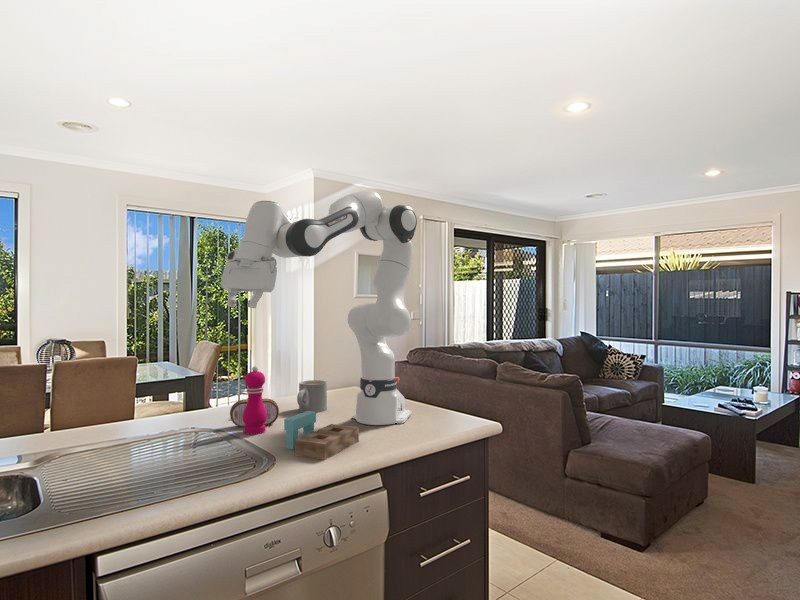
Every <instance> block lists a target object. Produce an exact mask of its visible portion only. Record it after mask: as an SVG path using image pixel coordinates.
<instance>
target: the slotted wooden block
mask: <svg viewBox="0 0 800 600" xmlns="http://www.w3.org/2000/svg"><path fill="white" fill-rule="evenodd" d="M359 429H360V428H359V426H351V425H343V424H335V423H330V424H328V425H325V426H323V427H322V428H319V429H317V430H314V432H312V433H310V434H308V435H305V436H303V435H302V436H301V437H298V439H296V440H295V449H294V456H297V457H304V458H310V459H317V460H322V461H323V460H324V461H326V460H327V458H328V459H329V458H331V457H333V456H335V455H336V453H337V454H338V453H341V452H342V451H344V450H346V449H347V448H349V447H351V446H353V445H354V443H355V444H356V443H358V442H359V441H360V440H359V436H360V434H359V432H360V431H359ZM357 441H358V442H357ZM352 444H353V445H352ZM350 445H351V446H350ZM345 448H346V449H345ZM343 449H344V450H343Z"/></svg>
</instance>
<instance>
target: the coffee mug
mask: <svg viewBox="0 0 800 600" xmlns="http://www.w3.org/2000/svg"><path fill="white" fill-rule="evenodd" d="M327 382H328V381H325V380H321V379H318V380H316V379H313V380H310V379H309V380H308V379H307V380H303V381H299V383H298V393H297V397H296V401H297V405H298V410H299V412H301V413H303V412H306V411H313V412H316V414H317V413H323V412H325V411H327V409H328V407H327V406H328V405H327V404H328V403H327V402H328V399H327V397H328V394H327V393H328V392H327V391H328V388H327V386H328V383H327Z"/></svg>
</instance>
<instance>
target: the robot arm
mask: <svg viewBox="0 0 800 600" xmlns="http://www.w3.org/2000/svg"><path fill="white" fill-rule="evenodd" d="M246 217H247V218H246V219H245V220H246V221H245V223H244V227H243V228H244V229H243V232H244V233H243V237H242V239H240V242H239V246H237V247H236V248H235V249H233V250H232V251H230V252H228V253H227V254H226V256H225V257H226V258H225V261H227V262H226V263H225V264H224V267H223V268H224V269H223V272H222V276H221V279H220V286H221V289H223V290H227V299H228V300H227V303H226V304H227V306H228V307H232V308H235V307H236V306H237V303H238V301H237V300H236V295H238V292H248V293H249V292H252V294H253V295H252V296H251V298H250V299H249V300H248V302H247V305H246V306H247V307H248V308H250V309H256V308H257V305H258V302H259V301H260V300H261V298H262V297H263V295H264V294H263V293H272V292H273V290H274V288H275V286H276V280H277V273H278V270H277V269H278V267H277V264H278V262H277V260H276V258H275V257H274V256H273V254H274V255H276V256H277V257H281V258H284V259H285V258H287V259H288V258H289V259H290V258H298V257H314V256H315V255H318V254H319V253H320V252H321V251H322V250H323V249H324V248H325V246H326V244H327V243H329V242H330V241H331V240H332V239H334V238H336V237H338V236H339V235H342V234H346V233H350V232H354V231H357V230H360V233H361V235H362V236H363V237H364V238H365V239H366V240H368V241H371V242H372V241H373V242H378V241H382V244H383V245H382V246H383V247H382V251H381V254H380V257H379V260H378V263H377V266H376V270H375V272H374V273H375V274H374V275H373V279H372V286H373V288H374V289H375V291H376V294H377V298H376V299H377V300H376V302H375V303H372V302H371V303H369V302H368V303H366V302H365V303H361V304H357V305H355V306H353V307H352V308H351V309H350V310H349V312H348V314H347V325H348V327H349V328H350V330H352V332H353V334H354V336H355V338H356V341H357V343H358V346H359V347H358V348H359V352H360V358H361V362H360V363H361V378H360V379H359V388H360V391H359V392H358V393H357V394H356V407H355V413H354V414H352V418H353V419H354V420H356V422H358V423H360V424H364V425H370V426H386V425H387V426H388V425H393V424H395V423H397V424H404V423H406V421H407V420H408V419H409V418H410V417H411V415H412V413H413V412H412V410H411V409H410V410H409V409H407V408H406V398H405V396H404V395H403V394H402V393H401V392H400V391H399V389H397V388H398V385H397V384H399V383H400V377H399V376H396V374H395V372H396V371H395V367H396V364H395V363H396V362H395V359H396V358H395V353H394V352H393V350H392V349H390V347H389V346H388V343H387V341H386V338H395V337H400V336H403V335H405V334H406V333H407V332H409V329H410V327H411V324H412V318H411V314H410V312H409V309H408V308H407V306H406V303H405V291H406V286H407V281H408V277H409V274H410V270H411V267H412V262H413V257H414V245H413V242H412V241H411V240H412V239H413V237H414V235H415V232H416V230H417V225H418V224H417V223H418V220H417V219H418V218H417V215H416V212H415V211H414V209H413V208H412V207H410V206H408V205H403V204H398V205H390V206H384V203H383V199H382V198H381V196H380V195H379V194H378V193H377V192H376V191H374V190H371V189H369V190H368V189H367V190H360V191H356V192H353V193H350V194H346V195H344V196H343V197H341V198H340V197H339V199H337V200H335V201H334V202H332V203H331V204H330V206H329V209H328V215H326V216H324V217H322V218H319V219H314V218H303V219H300V220H298V221H297V220H296V221H292V220H290V219H289V218H288V216H287V215H286V214H285V212H284V211H283V207H282V205H281V204H279V203H278V202H275V201H270V200H260V201H256V202H253V204H252V205H251V208H250V209H249V211H248V214H247V216H246ZM408 417H409V418H408ZM395 425H396V424H395Z"/></svg>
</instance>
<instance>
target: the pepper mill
mask: <svg viewBox="0 0 800 600" xmlns="http://www.w3.org/2000/svg"><path fill="white" fill-rule="evenodd" d="M251 370H252V371H250V372H248V373H247V374H246V375H245V378H244V383H245V386H246V393H247V398H248V402H247V406H246V408H245V410H244V413H243V422H244V423H245V424H246V426H245V427H243V432H244V434H246V435H260V434H264V433H265V432H266V431H267V430H266V427H267V425H266V426H265V425H264V423H265V421H266V420H267V412H266V409H265V407H264V405H263V402H262V399H263V393H264V384H265V383H266V376H265V374H264V373H263V372H261V371H259V368H258V366H256V365H253V366H252V367H251Z"/></svg>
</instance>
